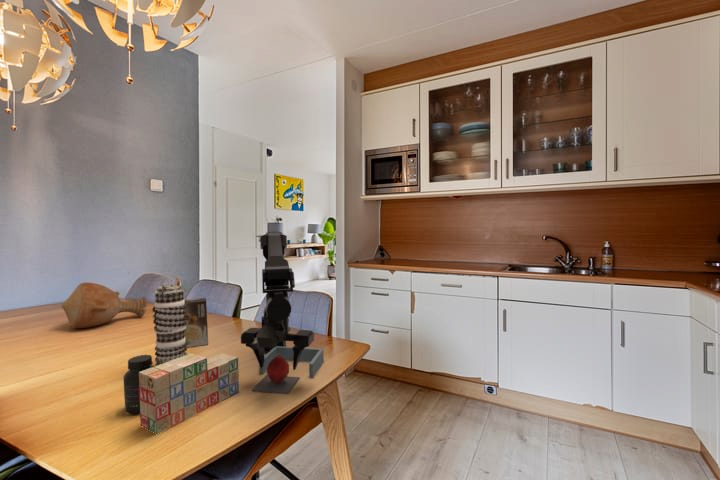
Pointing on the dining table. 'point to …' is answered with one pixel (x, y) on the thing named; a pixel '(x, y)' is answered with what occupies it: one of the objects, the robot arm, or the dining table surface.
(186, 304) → the coffee box
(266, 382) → the mat
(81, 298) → the jug
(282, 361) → the onion
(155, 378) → the stack of blocks
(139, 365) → the supplement bottle
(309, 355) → the u-shaped frame
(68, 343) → the dining table surface
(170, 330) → the decorative candle
